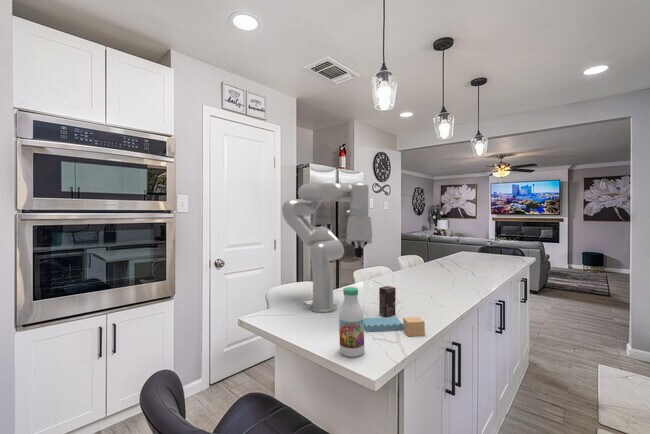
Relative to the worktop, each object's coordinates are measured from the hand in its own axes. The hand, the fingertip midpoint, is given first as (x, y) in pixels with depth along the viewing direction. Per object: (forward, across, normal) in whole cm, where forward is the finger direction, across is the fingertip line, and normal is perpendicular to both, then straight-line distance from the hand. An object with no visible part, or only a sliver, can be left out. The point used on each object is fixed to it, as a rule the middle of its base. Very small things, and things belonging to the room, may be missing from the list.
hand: (358, 257), depth 122 cm
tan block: (+25, +17, -18) cm, 35 cm away
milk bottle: (+25, -7, -30) cm, 40 cm away
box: (+26, +14, +3) cm, 29 cm away
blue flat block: (+25, +8, -10) cm, 28 cm away
